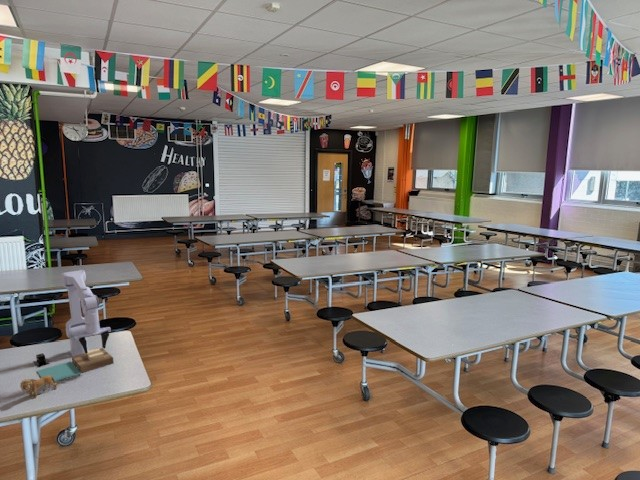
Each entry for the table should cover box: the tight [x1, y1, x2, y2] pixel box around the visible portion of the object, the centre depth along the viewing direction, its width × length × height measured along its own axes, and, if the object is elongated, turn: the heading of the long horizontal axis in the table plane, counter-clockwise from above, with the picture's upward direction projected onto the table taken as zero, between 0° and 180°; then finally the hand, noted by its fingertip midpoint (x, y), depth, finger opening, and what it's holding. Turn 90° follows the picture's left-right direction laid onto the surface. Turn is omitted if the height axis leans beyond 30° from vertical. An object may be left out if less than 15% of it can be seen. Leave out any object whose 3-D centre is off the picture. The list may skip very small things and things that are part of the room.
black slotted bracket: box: [32, 353, 51, 368], centre depth 208 cm, size 12×7×5 cm, turn 46°
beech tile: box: [85, 347, 104, 361], centre depth 207 cm, size 9×6×2 cm, turn 44°
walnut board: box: [71, 347, 114, 374], centre depth 206 cm, size 16×14×3 cm
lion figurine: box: [19, 375, 58, 399], centre depth 178 cm, size 15×5×9 cm, turn 159°
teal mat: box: [36, 360, 82, 383], centre depth 197 cm, size 18×14×1 cm
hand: (95, 350), depth 197 cm, fingers open, 7 cm apart
